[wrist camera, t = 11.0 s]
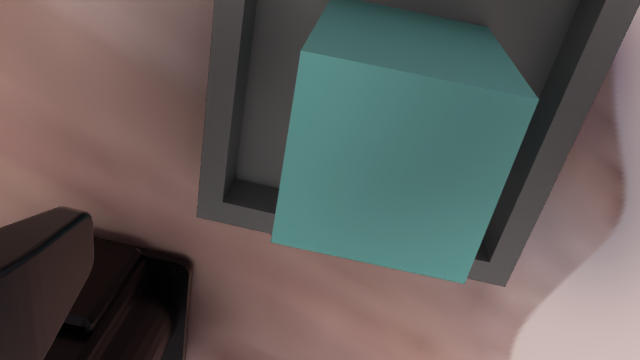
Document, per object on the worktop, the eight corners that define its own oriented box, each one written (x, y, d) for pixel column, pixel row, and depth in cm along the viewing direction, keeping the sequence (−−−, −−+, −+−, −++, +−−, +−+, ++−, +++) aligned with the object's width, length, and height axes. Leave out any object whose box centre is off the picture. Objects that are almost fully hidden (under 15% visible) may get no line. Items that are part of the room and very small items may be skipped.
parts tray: (493, 247, 19) (504, 286, 17) (215, 184, 19) (196, 216, 17) (629, -60, 14) (666, -53, 12) (249, -142, 14) (226, -148, 12)
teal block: (442, 164, 17) (464, 284, 12) (307, 136, 17) (271, 242, 12) (487, 26, 15) (539, 99, 10) (332, -5, 15) (300, 50, 10)
